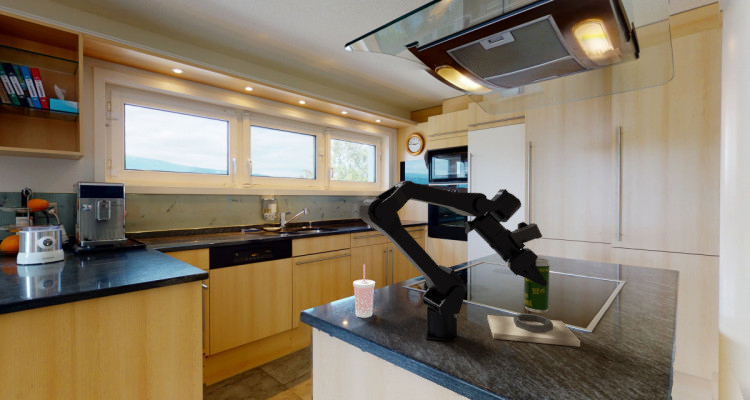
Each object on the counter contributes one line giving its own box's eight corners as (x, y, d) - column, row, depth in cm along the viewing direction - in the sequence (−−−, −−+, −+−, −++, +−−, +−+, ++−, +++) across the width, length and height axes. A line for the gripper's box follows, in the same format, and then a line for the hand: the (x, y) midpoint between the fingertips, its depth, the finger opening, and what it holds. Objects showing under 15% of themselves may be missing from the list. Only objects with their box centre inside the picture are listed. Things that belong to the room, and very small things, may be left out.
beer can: (540, 305, 82) (541, 257, 82) (553, 313, 76) (554, 261, 76) (519, 305, 81) (520, 257, 81) (531, 313, 76) (532, 261, 76)
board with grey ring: (493, 338, 75) (493, 326, 75) (487, 319, 87) (487, 309, 87) (580, 346, 72) (580, 334, 72) (561, 325, 83) (561, 315, 83)
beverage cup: (379, 313, 91) (379, 263, 91) (365, 320, 86) (366, 267, 86) (362, 309, 95) (362, 261, 95) (348, 315, 90) (348, 264, 90)
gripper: (527, 213, 70) (584, 267, 68) (513, 210, 89) (557, 253, 86) (488, 248, 72) (542, 302, 70) (482, 238, 91) (524, 280, 88)
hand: (542, 281), depth 78 cm, fingers closed on beer can, 5 cm apart
